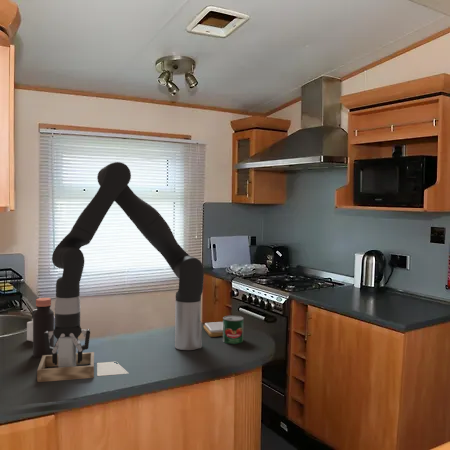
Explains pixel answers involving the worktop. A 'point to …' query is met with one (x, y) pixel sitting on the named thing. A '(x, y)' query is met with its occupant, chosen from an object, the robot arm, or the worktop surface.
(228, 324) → the canned tomato
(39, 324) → the vinegar
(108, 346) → the worktop surface
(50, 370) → the wooden tray
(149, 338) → the worktop surface
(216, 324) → the soap dish
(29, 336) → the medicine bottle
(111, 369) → the mat
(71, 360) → the skincare box
